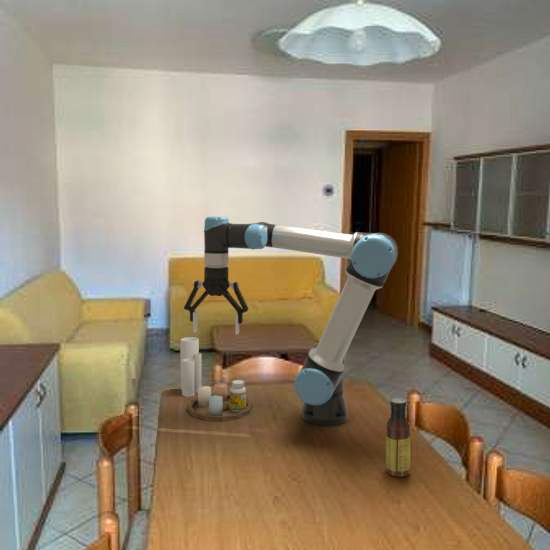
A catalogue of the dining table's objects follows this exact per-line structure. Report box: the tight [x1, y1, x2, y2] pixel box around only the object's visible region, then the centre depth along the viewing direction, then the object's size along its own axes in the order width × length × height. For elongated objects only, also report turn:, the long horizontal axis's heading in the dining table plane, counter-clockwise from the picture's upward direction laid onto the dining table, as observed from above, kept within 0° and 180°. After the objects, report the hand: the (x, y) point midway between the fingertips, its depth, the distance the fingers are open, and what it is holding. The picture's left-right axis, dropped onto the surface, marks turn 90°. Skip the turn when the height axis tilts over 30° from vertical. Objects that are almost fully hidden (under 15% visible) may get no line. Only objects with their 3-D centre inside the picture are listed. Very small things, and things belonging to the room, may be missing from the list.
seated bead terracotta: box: [213, 382, 228, 402], centre depth 192 cm, size 4×4×6 cm
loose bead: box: [209, 394, 223, 416], centre depth 180 cm, size 4×4×6 cm
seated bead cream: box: [197, 385, 212, 408], centre depth 189 cm, size 4×4×6 cm
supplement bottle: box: [229, 379, 247, 412], centre depth 185 cm, size 5×5×10 cm
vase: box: [179, 336, 202, 398], centre depth 201 cm, size 11×7×20 cm, turn 16°
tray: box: [186, 393, 253, 422], centre depth 186 cm, size 21×21×3 cm
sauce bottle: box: [385, 397, 411, 478], centre depth 146 cm, size 7×6×20 cm
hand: (216, 332), depth 177 cm, fingers open, 13 cm apart
